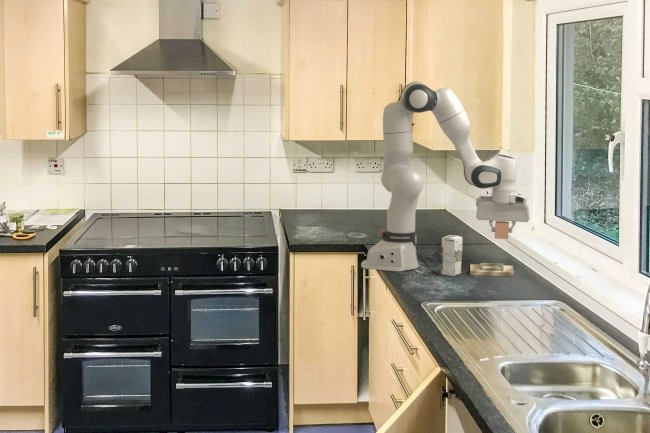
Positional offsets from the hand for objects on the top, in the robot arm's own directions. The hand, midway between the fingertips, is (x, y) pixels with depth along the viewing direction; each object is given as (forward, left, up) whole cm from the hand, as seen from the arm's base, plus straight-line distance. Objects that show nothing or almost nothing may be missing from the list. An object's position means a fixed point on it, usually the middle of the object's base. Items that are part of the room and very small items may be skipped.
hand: (501, 232), depth 341 cm
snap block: (0, 0, -2) cm, 2 cm away
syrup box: (-19, -16, -14) cm, 28 cm away
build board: (-4, -10, -14) cm, 17 cm away
